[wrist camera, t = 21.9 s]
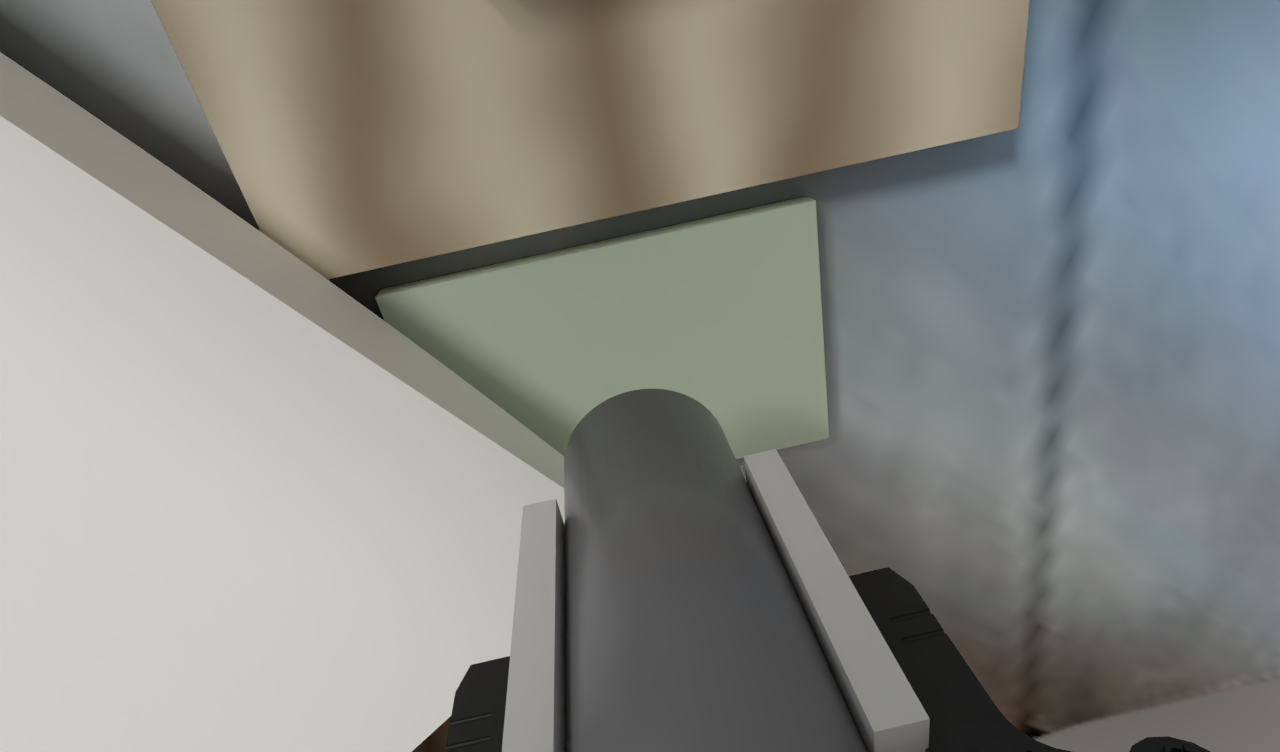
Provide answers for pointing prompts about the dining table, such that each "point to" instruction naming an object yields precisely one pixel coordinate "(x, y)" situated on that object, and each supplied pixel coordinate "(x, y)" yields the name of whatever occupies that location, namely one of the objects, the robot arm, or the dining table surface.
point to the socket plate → (568, 106)
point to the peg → (682, 596)
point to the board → (225, 475)
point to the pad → (643, 326)
